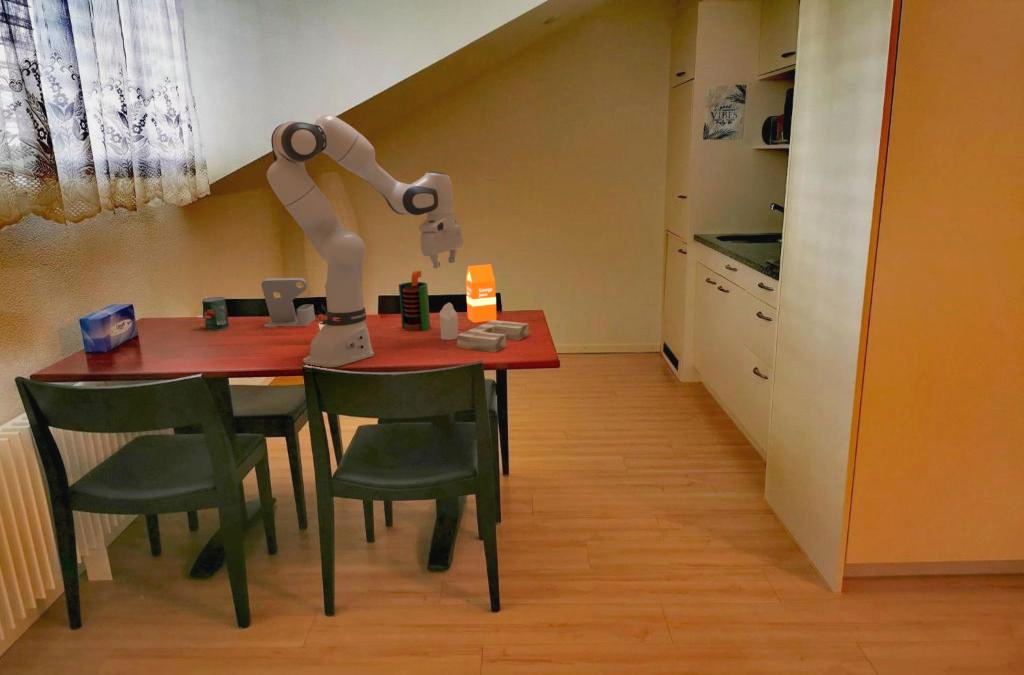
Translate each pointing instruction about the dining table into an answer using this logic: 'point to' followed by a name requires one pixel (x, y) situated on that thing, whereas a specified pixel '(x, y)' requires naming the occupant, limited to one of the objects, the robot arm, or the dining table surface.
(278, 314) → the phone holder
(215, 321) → the canned tomato
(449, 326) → the grey rounded cylinder
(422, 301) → the motor
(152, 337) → the dining table surface
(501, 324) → the notched board
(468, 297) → the orange juice
